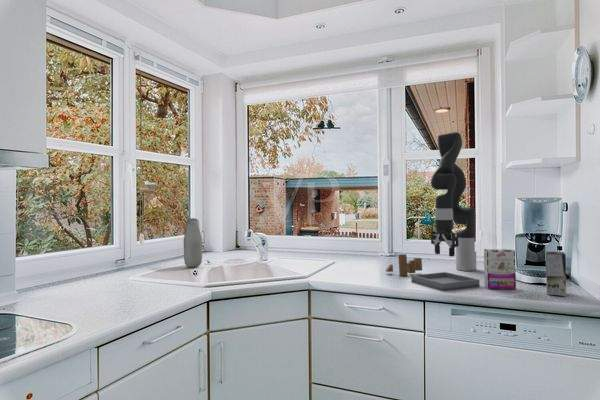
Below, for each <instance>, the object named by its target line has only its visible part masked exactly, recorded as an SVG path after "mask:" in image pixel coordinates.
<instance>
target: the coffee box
mask: <svg viewBox="0 0 600 400" xmlns="http://www.w3.org/2000/svg"><path fill="white" fill-rule="evenodd" d="M566 255H567V254H565V252H564V251H545V270H546V272H545V274H546V275H545V281H546V294H547V295H552V296H562V297H565V296H566V295H567V259H566V257H567V256H566Z"/></svg>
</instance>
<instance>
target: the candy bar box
mask: <svg viewBox="0 0 600 400" xmlns="http://www.w3.org/2000/svg"><path fill="white" fill-rule="evenodd" d="M483 266H484V267H483V270H484V271H483V272H484V273H483V275H484V288H486V289H487V290H504V291H505V290H506V291H507V290H517V279H516V278H517V277H516V274H517V272H516V250H514V249H511V248H492V249H491V248H489V249H487V248H483Z"/></svg>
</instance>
